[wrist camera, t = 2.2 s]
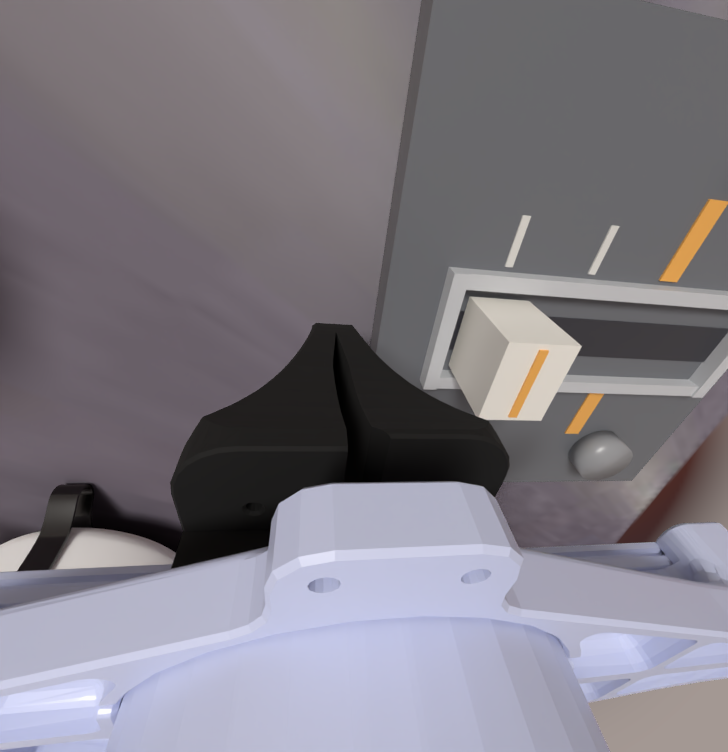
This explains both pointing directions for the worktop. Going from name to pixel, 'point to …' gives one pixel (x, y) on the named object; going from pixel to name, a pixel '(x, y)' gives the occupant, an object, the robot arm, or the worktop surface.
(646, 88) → the console panel
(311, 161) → the worktop surface
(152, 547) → the coffee press
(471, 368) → the fader tab
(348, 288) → the worktop surface
